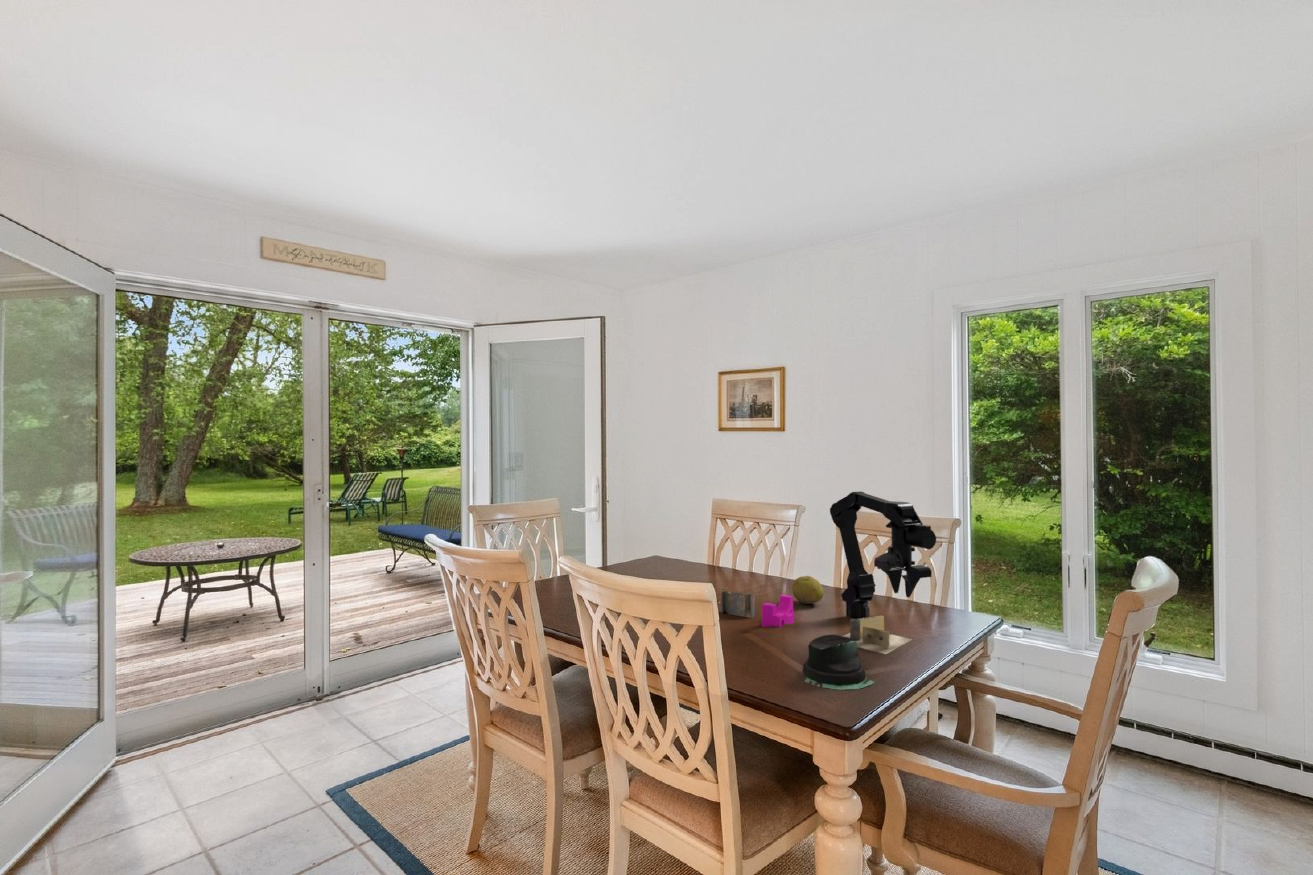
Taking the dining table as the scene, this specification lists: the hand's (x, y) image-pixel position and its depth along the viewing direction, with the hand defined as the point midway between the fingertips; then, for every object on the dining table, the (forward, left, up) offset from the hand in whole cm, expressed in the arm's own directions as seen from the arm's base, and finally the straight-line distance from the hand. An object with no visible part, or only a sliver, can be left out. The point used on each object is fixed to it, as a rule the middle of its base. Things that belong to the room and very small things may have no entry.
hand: (902, 595), depth 185 cm
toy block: (-34, -15, -13) cm, 39 cm away
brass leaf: (-5, -10, -11) cm, 16 cm away
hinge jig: (-3, -13, -13) cm, 18 cm away
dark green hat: (+1, -41, -13) cm, 43 cm away
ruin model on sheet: (-50, -17, -13) cm, 54 cm away
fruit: (-40, +11, -13) cm, 43 cm away
